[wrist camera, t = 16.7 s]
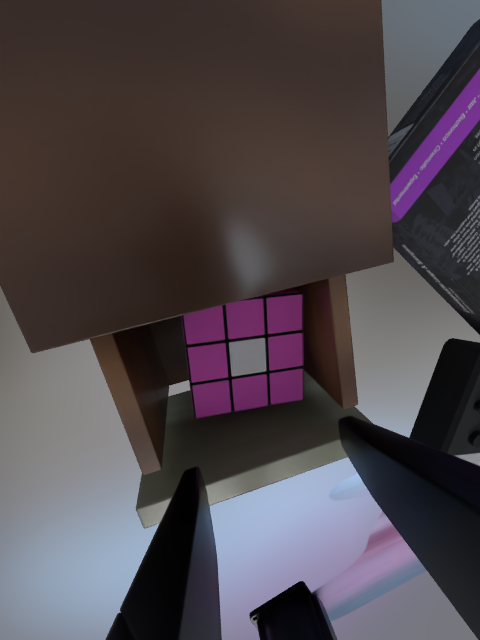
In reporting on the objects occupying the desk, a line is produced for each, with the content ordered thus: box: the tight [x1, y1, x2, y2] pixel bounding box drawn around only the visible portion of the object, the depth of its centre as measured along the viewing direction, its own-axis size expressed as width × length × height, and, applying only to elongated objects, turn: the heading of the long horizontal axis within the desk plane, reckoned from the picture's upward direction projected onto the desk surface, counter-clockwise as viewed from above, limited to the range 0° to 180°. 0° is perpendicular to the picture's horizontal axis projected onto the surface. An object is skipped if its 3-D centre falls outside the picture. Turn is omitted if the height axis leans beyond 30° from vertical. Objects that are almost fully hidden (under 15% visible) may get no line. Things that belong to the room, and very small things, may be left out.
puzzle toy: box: [181, 288, 304, 418], centre depth 16 cm, size 6×6×6 cm
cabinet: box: [0, 0, 394, 353], centre depth 12 cm, size 15×13×11 cm
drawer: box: [90, 274, 373, 528], centre depth 15 cm, size 15×11×9 cm
